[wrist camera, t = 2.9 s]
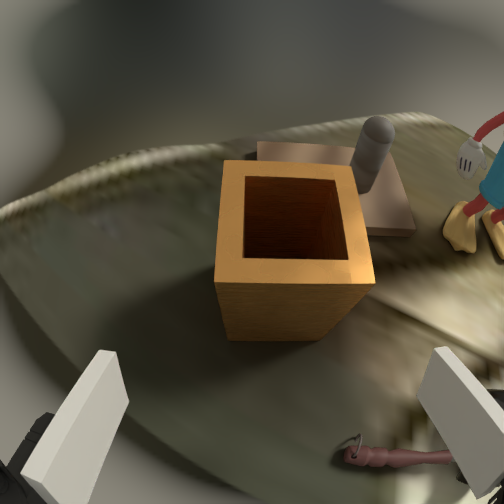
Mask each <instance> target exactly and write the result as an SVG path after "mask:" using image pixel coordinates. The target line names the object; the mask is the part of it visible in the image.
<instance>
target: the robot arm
mask: <svg viewBox="0 0 504 504" xmlns="http://www.w3.org/2000/svg"><path fill="white" fill-rule="evenodd" d="M416 396H417V398H418V400H419V401H420V403H421V404H422V406H423V407H424V409H425V411H426V412H427V414H428V416H429V417H430V419H431V420H432V422H433V424H434V425H435V427H436V429H437V430H438V432H439V434H440V435H441V437H442V439H443V440H444V442H445V444H446V445H447V447H448V449H449V451H450V452H451V454H452V456H453V457H454V459H455V461H456V463H457V464H458V466H459V468H460V470H461V472H462V473H463V475H464V477H465V479H466V481H467V482H468V484H469V486H470V488H471V490H472V492H473V493H474V495H475V497H476V499H479V498H481V497H483V496H485V495H487V494H488V493H490V492H492V490H493V489H494V488H495V487H496V486H497V485H498V484H499V483H500V484H501V486H502V487H501V488H500V489H499V490H498V491H497V493H496V494H495V495H494V496H493V497H492V498H491V499H490V500H489V502H488V504H491V503H492V502H493V501H494V500H495V499H496V498H497V500H496V501H495V502H494V503H493V504H504V403H503V402H501V401H500V400H498V399H494V398H493V397H492V396H491V395H490V394H489V393H488V391H487V390H486V389H485V388H484V387H483V386H482V384H481V383H480V382H479V381H478V380H477V379H476V378H475V377H474V375H473V374H472V373H471V372H470V371H469V370H468V369H467V368H466V366H465V365H464V364H463V363H462V362H461V361H460V360H459V359H458V358H457V357H456V356H455V355H454V353H453V352H452V351H451V350H450V349H449V348H448V347H447V346H445V347H439V348H434V349H433V352H432V355H431V358H430V361H429V364H428V367H427V369H426V372H425V375H424V377H423V380H422V383H421V385H420V388H419V390H418V393H417V395H416ZM128 403H129V400H128V397H127V393H126V390H125V386H124V382H123V379H122V375H121V371H120V367H119V363H118V359H117V354H116V352H113V351H105V350H99V351H98V352H97V354H96V355H95V357H94V358H93V359H92V361H91V362H90V364H89V365H88V367H87V368H86V370H85V371H84V372H83V374H82V375H81V377H80V378H79V380H78V381H77V383H76V384H75V386H74V387H73V389H72V390H71V392H70V393H69V395H68V396H67V398H66V399H65V401H64V402H63V404H62V406H61V407H60V408H59V410H58V412H57V413H56V415H55V414H51V413H48V412H46V413H45V414H44V415H42V416H41V417H40V418H38V419H37V420H36V421H35V423H34V425H33V426H32V427H31V429H30V432H28V433H27V435H26V436H25V440H23V441H22V443H21V444H20V446H19V448H18V449H17V451H16V452H15V454H14V455H13V457H12V458H11V460H10V462H9V463H8V465H7V466H5V465H4V464H3V463H2V461H1V460H0V504H88V501H89V498H90V496H91V493H92V490H93V488H94V485H95V483H96V480H97V477H98V475H99V472H100V470H101V467H102V465H103V462H104V460H105V457H106V455H107V452H108V450H109V448H110V445H111V443H112V440H113V438H114V435H115V433H116V431H117V428H118V426H119V424H120V421H121V419H122V417H123V414H124V412H125V410H126V408H127V405H128Z"/></svg>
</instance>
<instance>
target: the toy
mask: <svg viewBox="0 0 504 504" xmlns="http://www.w3.org/2000/svg"><path fill="white" fill-rule="evenodd" d="M503 123H504V112H502V113H500V114H498V115H497V116H495V117H494V118H492V119H490V120H489V121H487V122H486V123H485V124H484V125H483V126H482V127H481V128H479V129H478V130H477V132H476V134H475V137H474V138H469V139H468V141H466V142H465V143H463V144H462V146H461V147H460V149H459V151H458V155H457V162H456V163H457V171H458V173H459V175H460V177H462V178H463V179H471V178H472V177H473V175H474V174H475V172H476V170H477V168H478V167H479V165H480V166H481V168H482V169H484V170H486V168H487V166H486V157H485V154H484V152H483V151H482V149H481V148H482V143H481V142H480V141H481V140H482V138H484V137H485V136H486V135H487V134H488V133H489V132H491V131H492V130H493V129H495V128H497V127H498V126H500V125H501V124H503ZM479 189H480V194H479V195H478V196H477V197H476V198H475V200H473V201H471V202H464V201H462V202H458V203H457V204H456V205H455V207H454V208H453V209H452V211H451V213H450V215H449V217H448V218H447V220H446V223H445V225H444V228H443V235H444V238H446V239H447V240H448V241H450V243H451V245H452V246H453V248H454V250H456V251H458V250H464V251H465V252H467V253H474V252H475V251H476V233H475V218H474V216H475V214H476V213H478V212H480V211H481V210H483V209H484V208H485V206H486V205H487V204H488V203H490V204H491V205H493V206H494V207H495V208H497V210H489V211H487V212H485V213H484V215H483V216H482V220H483V223H484V225H485V227H486V229H487V232H488V234H489V236H490V238H491V240H492V243H493V245H494V247H495V249H496V251H497V253H498V255H499V257H500V258H501V259H503V260H504V226H503V224H502V223H501V221H502V220H504V142H503V144H502V145H501V147H500V149H499V151H498V153H497V155H496V158H495V160H494V162H493V164H492V166H491V168H490V170H489V172H488V174H487V176H486V178H485V180H482V181H481V183H480V186H479Z"/></svg>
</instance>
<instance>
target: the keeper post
mask: <svg viewBox="0 0 504 504" xmlns="http://www.w3.org/2000/svg"><path fill="white" fill-rule="evenodd" d="M394 136H395V131H394V128H393V125H392V124H391V123H390V121H388V120H387V119H386V118H384V117H380V116H374V117H371V118H369V119H368V120H366V122H365V123H364V125H363V128H362V130H361V133H360V136H359V139H358V142H357V145H356V148H350V147H340V146H330V145H318V144H304V143H287V142H263V141H257V161H279V162H299V163H316V164H329V165H342V166H351V168H352V171H353V175H354V179H355V183H356V187H357V192H358V196H359V200H360V204H361V209H362V213H363V218H364V223H365V227H366V232H367V235H373V236H396V237H411V236H412V234H413V233H414V232H415V231H416V226H415V223H414V219H413V216H412V213H411V209H410V206H409V203H408V200H407V197H406V194H405V191H404V188H403V185H402V182H401V179H400V177H399V174H398V171H397V168H396V166H395V163H394V160H393V158H392V155H391V153H390V152H388V151H389V149H390V147H391V145H392V142H393V140H394Z"/></svg>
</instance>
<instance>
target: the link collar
mask: <svg viewBox="0 0 504 504" xmlns="http://www.w3.org/2000/svg"><path fill="white" fill-rule="evenodd" d="M214 284H215V288H216V293H217V297H218V301H219V305H220V309H221V314H222V318H223V322H224V326H225V330H226V334H227V338H228V341H320V340H321V339H322V338H323V337H324V336H325V335H326V334H327V333H328V332H329V331H330V330H331V329H332V328H333V327H334V326H335V325H336V324H337V323H338V322H339V321H340V320H341V319H342V318H343V317H344V316H345V315H346V314H347V313H348V312H349V311H350V310H351V309H352V308H353V307H354V306H355V305H356V304H357V303H358V302H359V301H360V300H361V299H362V297H363V296H364V295H365V294H366V293H367V292H368V291H369V290H370V289H371V288H372V287H373V286H374V285H375V277H374V271H373V265H372V259H371V253H370V248H369V243H368V237H367V232H366V227H365V223H364V218H363V213H362V209H361V204H360V200H359V196H358V192H357V187H356V183H355V179H354V175H353V171H352V168H351V166H342V165H329V164H316V163H299V162H279V161H245V160H224V169H223V179H222V189H221V200H220V212H219V223H218V235H217V248H216V261H215V275H214Z"/></svg>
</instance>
